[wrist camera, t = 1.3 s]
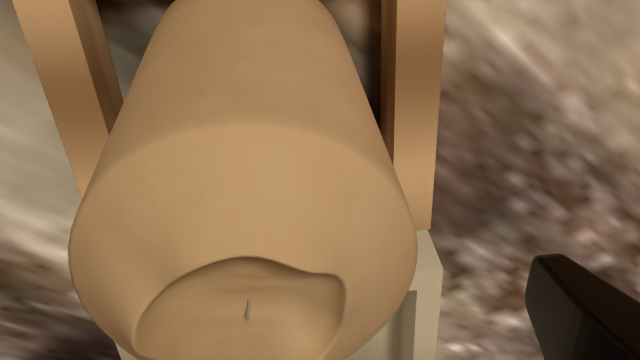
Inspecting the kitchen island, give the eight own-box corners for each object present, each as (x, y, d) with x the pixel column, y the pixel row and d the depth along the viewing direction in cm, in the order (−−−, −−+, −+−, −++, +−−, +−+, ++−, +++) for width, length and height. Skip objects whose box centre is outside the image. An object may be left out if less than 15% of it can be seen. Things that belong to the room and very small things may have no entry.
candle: (330, 156, 18) (396, 456, 10) (152, 143, 17) (59, 461, 9) (362, -20, 15) (495, 197, 7) (149, -47, 14) (6, 164, 6)
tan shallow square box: (414, 192, 19) (430, 228, 18) (118, 222, 19) (105, 263, 17) (431, -144, 14) (456, -137, 12) (10, -114, 13) (-25, -102, 11)
